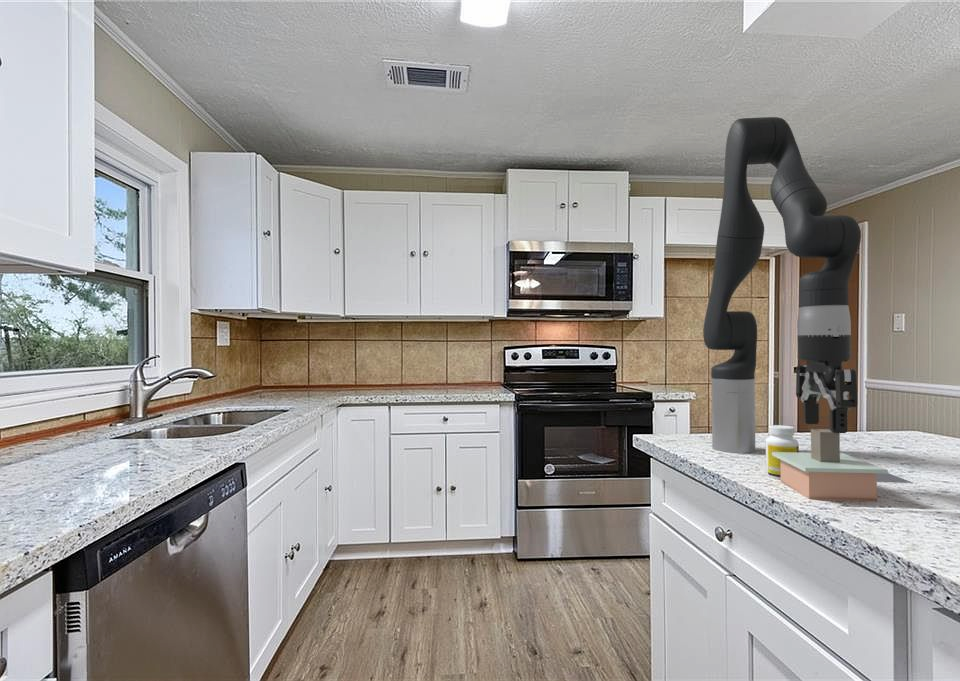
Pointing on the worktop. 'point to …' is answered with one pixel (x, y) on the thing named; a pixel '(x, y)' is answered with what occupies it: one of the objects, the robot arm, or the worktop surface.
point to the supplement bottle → (779, 448)
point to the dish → (830, 484)
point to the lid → (827, 456)
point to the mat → (890, 478)
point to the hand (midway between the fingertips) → (824, 428)
